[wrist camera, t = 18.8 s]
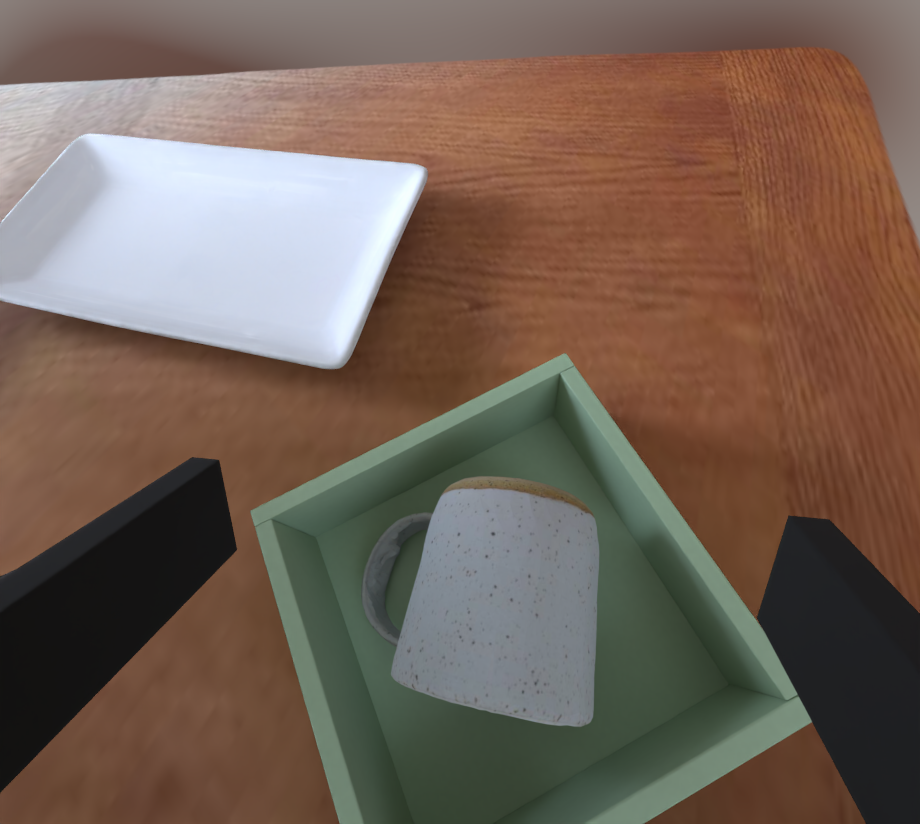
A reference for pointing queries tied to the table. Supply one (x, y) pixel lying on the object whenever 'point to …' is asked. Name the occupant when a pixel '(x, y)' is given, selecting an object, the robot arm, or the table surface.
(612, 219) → the table surface
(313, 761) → the table surface
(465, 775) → the bin
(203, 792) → the table surface
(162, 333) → the tray
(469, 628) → the ceramic mug
